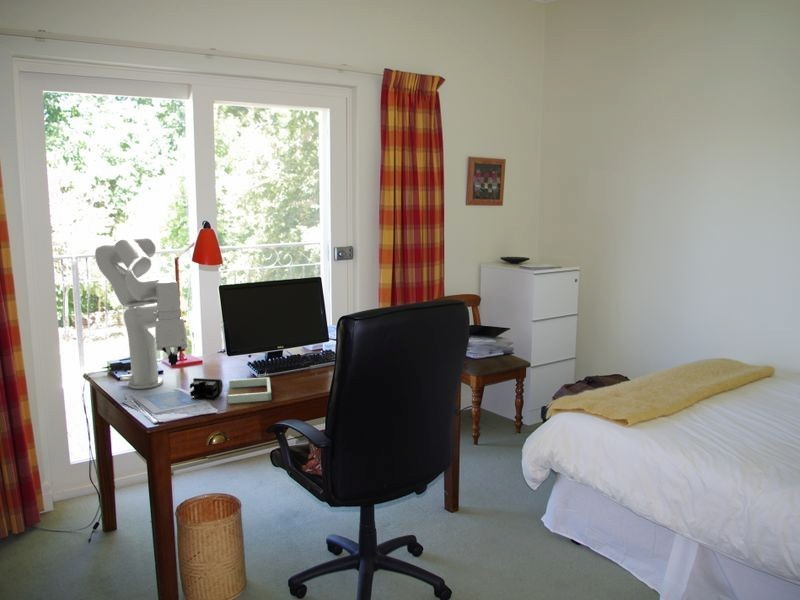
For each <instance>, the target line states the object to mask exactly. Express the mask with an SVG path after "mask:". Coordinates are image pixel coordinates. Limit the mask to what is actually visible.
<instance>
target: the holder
mask: <svg viewBox="0 0 800 600" xmlns="http://www.w3.org/2000/svg"><path fill="white" fill-rule="evenodd" d="M228 382H229V383H228V384H229V389H234V388H245V387H246V388H247V387H260V386H261V387H262V386H266V391H263V392H261V391H260V392H251V393H249V392H248V393H236V394H228V395H227V402H228V404H240V403H251V402H252V403H253V402H263V401H264V402H265V401H272V388H271V378H270V376H266V377H252V378H250V377H249V378H240V379H239V378H238V379H229V380H228Z"/></svg>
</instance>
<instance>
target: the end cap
mask: <svg viewBox="0 0 800 600" xmlns="http://www.w3.org/2000/svg"><path fill="white" fill-rule="evenodd" d="M192 380H193V382H191V383H190V384H189V389H192V388H193V389H192V390H191V391H190V394H189V395H190V396H191V398H190V399H191V400H192V399H193V400H194V401H210V402H211V401H216V400H217V399H218V398H220V396H221V394H222V392H223V387H224V385H223V381H222V379H221V378H206V377H205V378H204V377H203V378H200V377H196V378H195V377H194V378H193V379H192ZM193 396H194V397H193Z"/></svg>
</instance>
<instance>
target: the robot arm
mask: <svg viewBox="0 0 800 600" xmlns="http://www.w3.org/2000/svg"><path fill="white" fill-rule="evenodd" d="M94 253H95V255H94V257H95V261H96V264H97V266H98V269H99V270H100V272H101V273H102V275H103V276H104V277H105V278H106V279H107V281H108V282H109V283H110V285H111V287H112V290H113V292H114V294H115V295H116V298H117V299H118V301H119V304H121V306H122V307H123V308H126V309H125V310H124V312H123V319H124V324H125V328H126V332H127V336H128V347H129V359H130V370H131V373H128V374H126V375H125V374H120V376H119V377H120V378H119V380H120V381H122V382H128V383H127V384H128V387H129V388H130V389H133V390H134V389H136V390H145V389H146V390H147V389H153V388H156V387H159V386H160V385H162V384H163V381H164V380H163V378H162V377H159V371H158V358H157V357H158V356H157V355H158V354H157V351H162V352H164V353H165V354H166V355H167V357H168V364H170V367H172V366H173V367H174V366H176V365H177V364H178V363H179V359H178V353H179V352H180V351H182V350H185V349H188V347H189V346H188V342H187V332H186V327H185V322H184V318H183V317H182V316H181V306H180V294H179V292H180V291H179V284H178V282H177V281H176V280H173V279H170V278H168V277H167V276H166V277H165V276H163V277H162V276H161V277H155V278H154V277H153V278H145V279H139V278H140V277H142V276H143V275H145V274H147V272H149V271H150V269H151V266H152V260H151V258H153V256H154V255H155V254H156V244H155V242H154V240H153V239H152V238H151V237H149V236H148V235H138V236H126V237H121V238H119V239H118V240H116V241H113V242H106V243H103V244H100V245H98V246H97V247H96V249H95V251H94ZM120 264H123V265H125V267H124V266H122V265H120ZM151 328H155V330H154V331H155V335H153V334H152V333H151V332H150V331H149V329H151ZM172 348H173V351H172V350H171V349H172Z"/></svg>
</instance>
